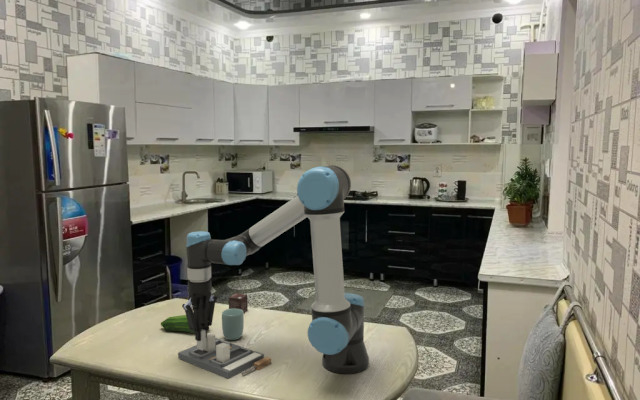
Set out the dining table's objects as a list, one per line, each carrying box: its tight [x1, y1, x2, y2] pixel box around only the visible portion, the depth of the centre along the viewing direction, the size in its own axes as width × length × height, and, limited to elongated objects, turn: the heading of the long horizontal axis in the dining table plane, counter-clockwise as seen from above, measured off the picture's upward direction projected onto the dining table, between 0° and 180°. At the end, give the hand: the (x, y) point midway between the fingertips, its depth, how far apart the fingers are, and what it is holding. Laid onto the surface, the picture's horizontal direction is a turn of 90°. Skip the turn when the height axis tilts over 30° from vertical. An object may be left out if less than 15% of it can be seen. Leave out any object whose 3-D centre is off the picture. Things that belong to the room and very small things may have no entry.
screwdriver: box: [241, 356, 272, 376], centre depth 154 cm, size 12×2×2 cm, turn 143°
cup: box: [221, 308, 245, 341], centre depth 179 cm, size 8×8×10 cm
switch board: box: [177, 337, 265, 380], centre depth 161 cm, size 24×16×3 cm, turn 54°
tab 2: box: [216, 343, 230, 363], centre depth 155 cm, size 3×3×5 cm
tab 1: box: [205, 332, 216, 352], centre depth 163 cm, size 3×3×5 cm
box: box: [228, 292, 249, 313], centre depth 207 cm, size 6×6×7 cm
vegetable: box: [160, 314, 195, 334], centre depth 186 cm, size 7×7×20 cm
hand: (201, 348), depth 160 cm, fingers closed
